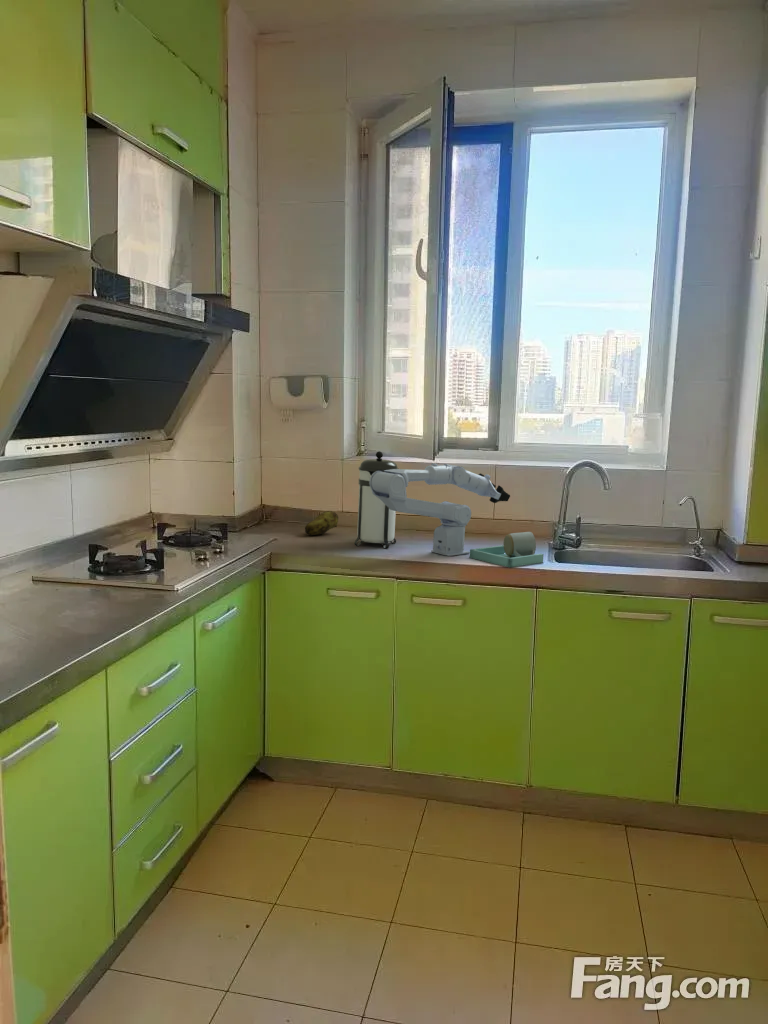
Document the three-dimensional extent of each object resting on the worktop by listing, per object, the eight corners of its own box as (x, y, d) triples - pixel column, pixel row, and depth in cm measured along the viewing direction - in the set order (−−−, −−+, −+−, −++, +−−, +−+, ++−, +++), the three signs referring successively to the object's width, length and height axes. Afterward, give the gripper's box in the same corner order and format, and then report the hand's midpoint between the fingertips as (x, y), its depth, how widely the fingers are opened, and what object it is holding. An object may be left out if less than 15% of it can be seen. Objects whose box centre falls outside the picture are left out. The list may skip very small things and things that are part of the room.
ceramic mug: (501, 554, 240) (502, 529, 239) (525, 553, 242) (527, 529, 241) (515, 561, 230) (517, 536, 229) (540, 561, 232) (542, 536, 231)
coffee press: (409, 547, 245) (414, 453, 241) (364, 549, 238) (368, 452, 234) (385, 538, 260) (389, 449, 256) (342, 540, 253) (345, 448, 249)
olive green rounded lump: (298, 533, 263) (299, 510, 262) (333, 532, 269) (333, 509, 268) (307, 537, 255) (308, 513, 254) (343, 536, 261) (343, 512, 260)
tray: (509, 567, 221) (510, 558, 221) (469, 557, 233) (469, 549, 233) (542, 562, 231) (543, 554, 230) (502, 553, 243) (503, 545, 242)
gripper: (492, 480, 235) (521, 491, 243) (465, 462, 246) (493, 473, 254) (481, 500, 236) (510, 511, 244) (455, 481, 247) (483, 492, 255)
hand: (501, 493), depth 249 cm, fingers open, 7 cm apart
